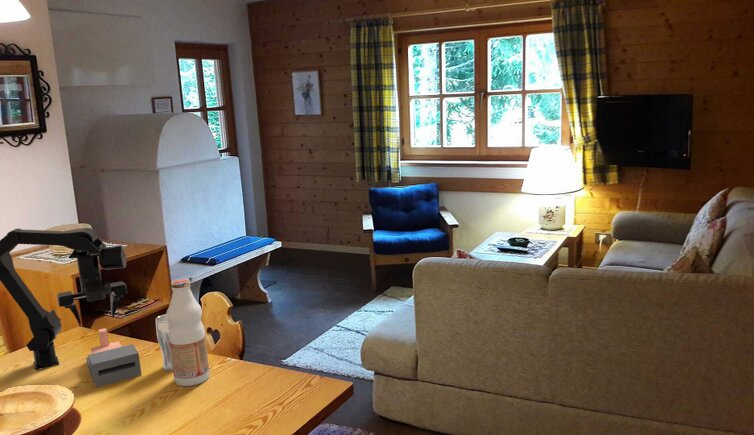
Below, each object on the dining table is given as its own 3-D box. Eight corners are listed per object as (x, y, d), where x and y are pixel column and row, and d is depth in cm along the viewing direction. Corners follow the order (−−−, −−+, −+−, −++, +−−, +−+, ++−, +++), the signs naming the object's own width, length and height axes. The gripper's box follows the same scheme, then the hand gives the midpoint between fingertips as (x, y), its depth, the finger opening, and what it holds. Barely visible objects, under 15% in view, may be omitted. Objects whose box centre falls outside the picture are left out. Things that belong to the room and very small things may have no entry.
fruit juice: (181, 390, 164) (168, 289, 158) (169, 378, 171) (157, 281, 166) (215, 379, 169) (204, 281, 164) (202, 368, 177) (191, 274, 171)
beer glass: (190, 361, 182) (184, 312, 179) (180, 371, 176) (174, 321, 173) (167, 361, 183) (161, 313, 180) (157, 371, 176) (150, 322, 173)
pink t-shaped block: (90, 348, 188) (87, 332, 187) (118, 341, 192) (115, 325, 191) (98, 366, 174) (95, 349, 173) (128, 359, 178) (126, 342, 177)
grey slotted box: (87, 367, 182) (84, 346, 181) (130, 356, 188) (127, 335, 187) (95, 387, 169) (92, 364, 167) (141, 375, 175) (138, 352, 173)
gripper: (57, 283, 172) (65, 336, 175) (127, 270, 181) (134, 321, 184) (53, 274, 181) (61, 325, 184) (120, 263, 191) (127, 311, 194)
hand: (96, 320), depth 186 cm, fingers open, 9 cm apart
